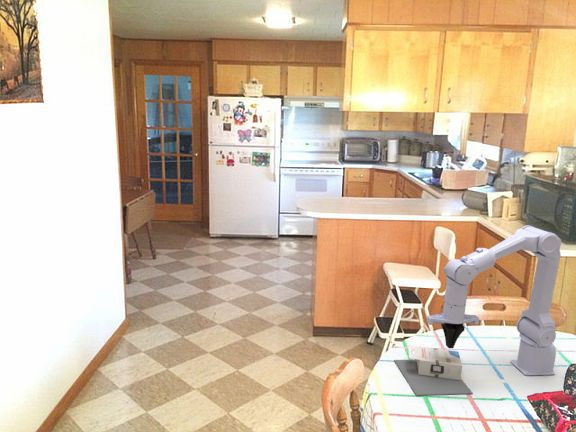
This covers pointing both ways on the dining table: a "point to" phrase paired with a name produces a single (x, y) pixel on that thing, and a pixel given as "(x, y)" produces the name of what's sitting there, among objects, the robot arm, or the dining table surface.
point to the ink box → (437, 362)
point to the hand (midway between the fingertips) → (449, 346)
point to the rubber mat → (430, 381)
